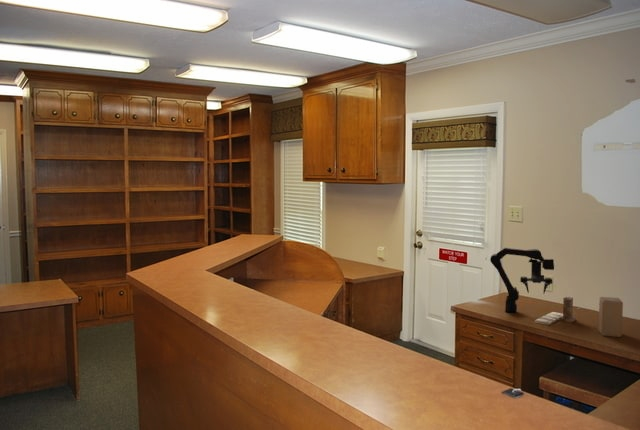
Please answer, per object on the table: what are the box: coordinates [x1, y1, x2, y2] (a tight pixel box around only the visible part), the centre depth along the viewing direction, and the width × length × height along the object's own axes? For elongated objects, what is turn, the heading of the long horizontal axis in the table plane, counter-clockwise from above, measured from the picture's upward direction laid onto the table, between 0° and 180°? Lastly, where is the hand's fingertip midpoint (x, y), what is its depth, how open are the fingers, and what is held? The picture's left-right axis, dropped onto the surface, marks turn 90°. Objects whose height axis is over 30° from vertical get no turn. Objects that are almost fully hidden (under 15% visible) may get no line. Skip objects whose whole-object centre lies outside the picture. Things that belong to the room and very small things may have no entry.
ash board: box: [534, 311, 563, 326], centre depth 319 cm, size 26×8×1 cm, turn 134°
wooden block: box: [598, 296, 624, 338], centre depth 288 cm, size 10×10×20 cm
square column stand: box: [559, 296, 577, 324], centre depth 316 cm, size 7×7×14 cm
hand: (536, 293), depth 331 cm, fingers open, 9 cm apart
